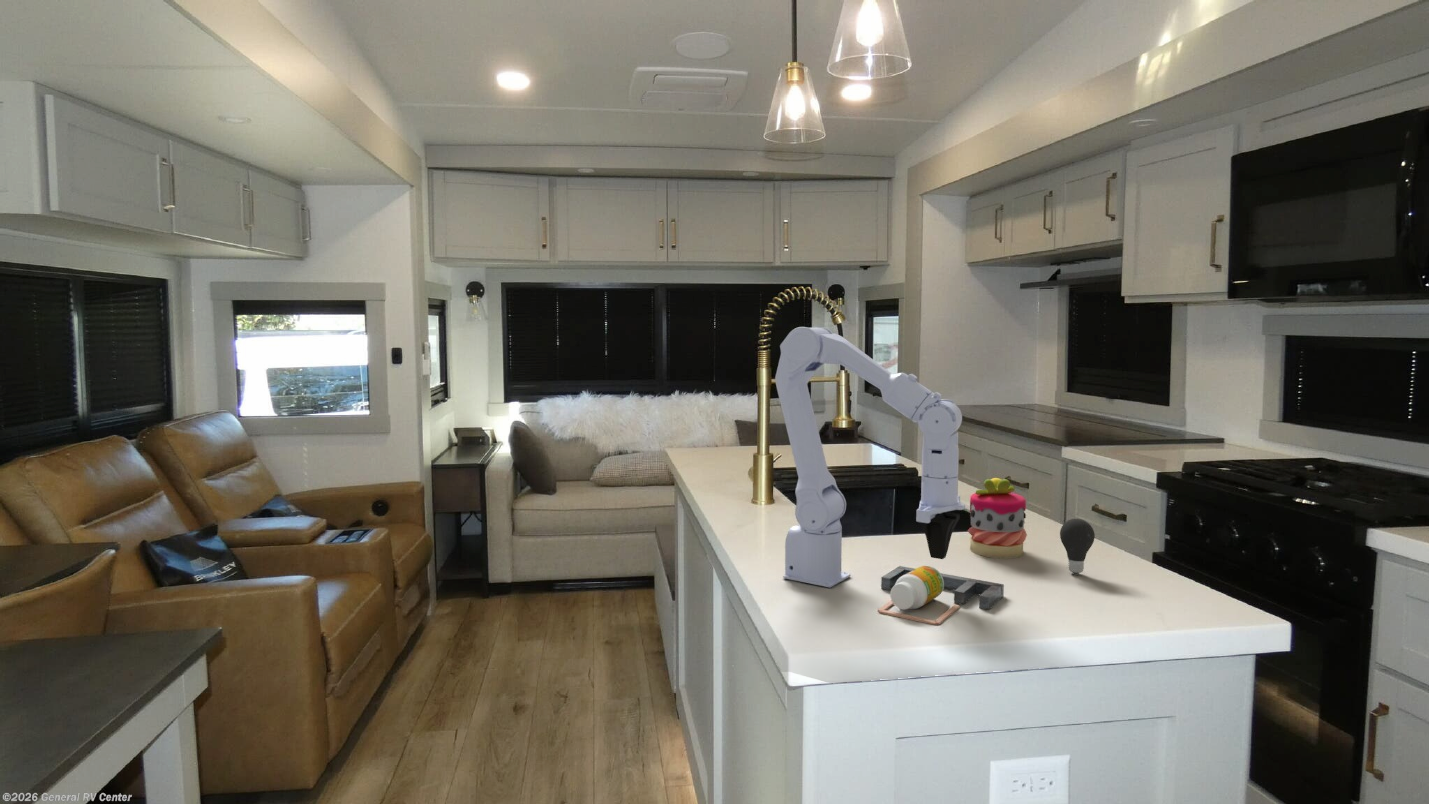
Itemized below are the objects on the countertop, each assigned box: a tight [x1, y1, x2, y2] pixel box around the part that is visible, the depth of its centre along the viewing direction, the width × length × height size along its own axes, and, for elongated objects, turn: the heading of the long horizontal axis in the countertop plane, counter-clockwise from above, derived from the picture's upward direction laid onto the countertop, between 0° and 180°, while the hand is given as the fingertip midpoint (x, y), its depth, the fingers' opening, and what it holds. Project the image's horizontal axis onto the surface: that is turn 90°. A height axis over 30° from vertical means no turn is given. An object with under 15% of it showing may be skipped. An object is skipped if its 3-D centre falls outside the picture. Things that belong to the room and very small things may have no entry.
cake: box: [967, 477, 1028, 559], centre depth 158 cm, size 10×11×15 cm
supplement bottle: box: [889, 565, 945, 610], centre depth 128 cm, size 5×5×10 cm
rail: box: [880, 565, 1005, 611], centre depth 134 cm, size 18×8×2 cm, turn 54°
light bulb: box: [1059, 518, 1096, 576], centre depth 143 cm, size 6×6×10 cm
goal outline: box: [877, 599, 961, 626], centre depth 126 cm, size 10×9×1 cm
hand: (938, 557), depth 132 cm, fingers closed
